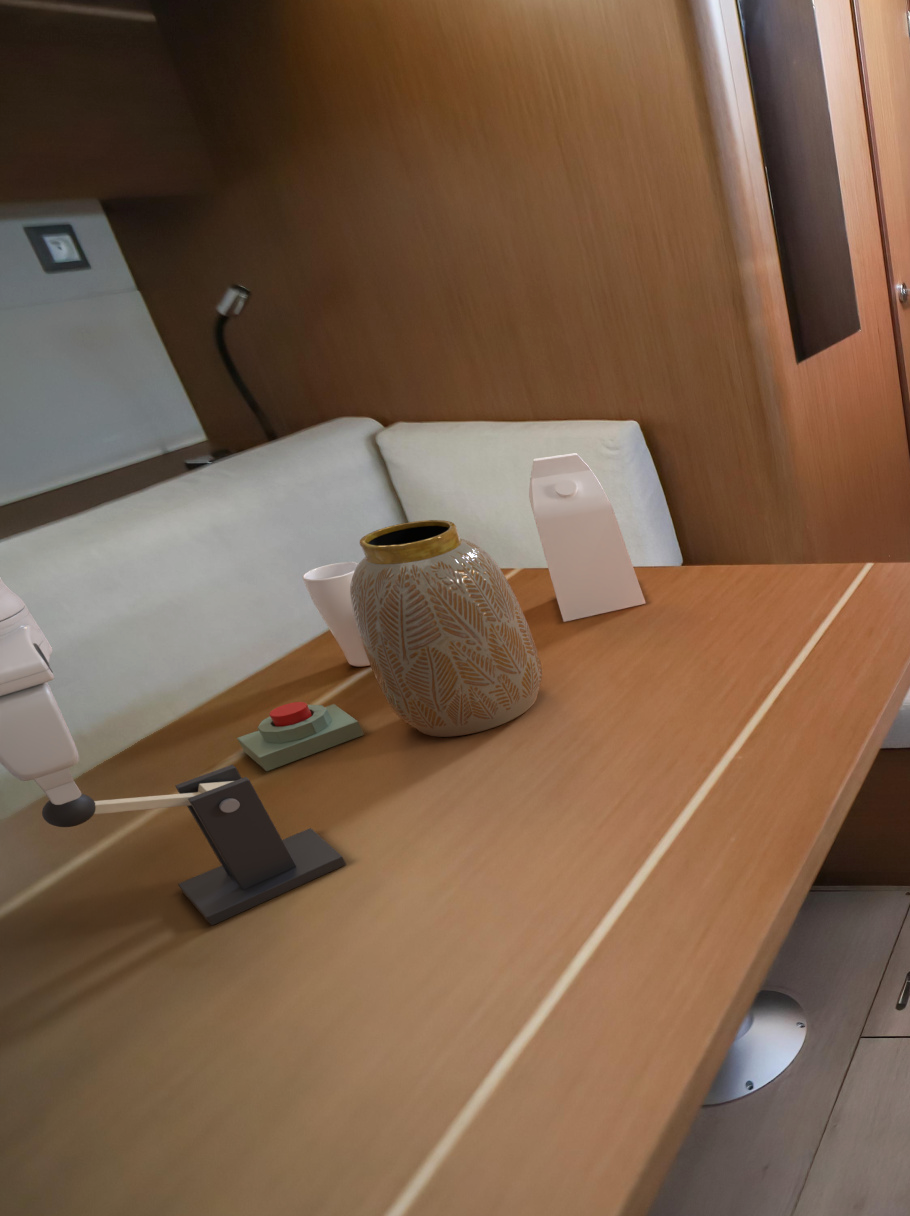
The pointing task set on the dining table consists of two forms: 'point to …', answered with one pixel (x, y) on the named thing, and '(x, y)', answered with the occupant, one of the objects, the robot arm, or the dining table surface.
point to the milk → (581, 539)
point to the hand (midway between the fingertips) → (53, 782)
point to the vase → (443, 630)
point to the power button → (290, 714)
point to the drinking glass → (337, 607)
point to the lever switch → (114, 806)
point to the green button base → (299, 737)
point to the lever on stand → (247, 849)
